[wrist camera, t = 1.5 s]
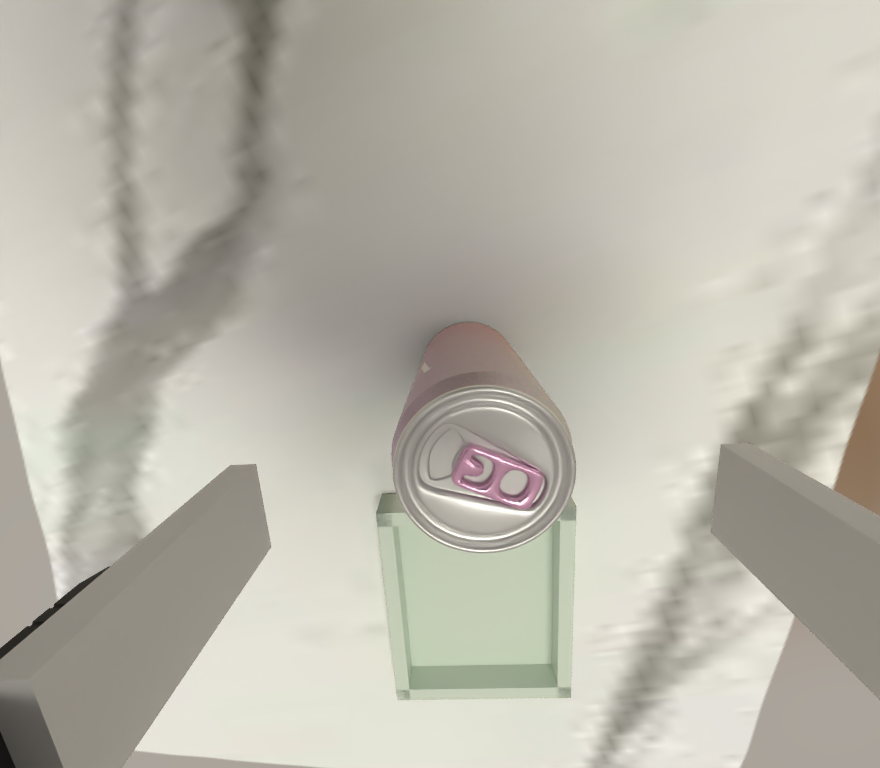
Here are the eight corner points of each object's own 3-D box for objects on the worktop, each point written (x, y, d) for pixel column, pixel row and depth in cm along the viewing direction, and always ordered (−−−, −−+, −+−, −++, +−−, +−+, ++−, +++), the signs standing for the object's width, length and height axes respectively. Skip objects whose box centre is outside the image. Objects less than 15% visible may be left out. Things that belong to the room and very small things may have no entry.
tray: (382, 493, 30) (376, 513, 27) (566, 487, 29) (576, 506, 27) (401, 669, 34) (397, 700, 31) (562, 666, 33) (570, 697, 31)
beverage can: (491, 422, 28) (532, 584, 14) (409, 391, 28) (360, 522, 13) (528, 341, 26) (619, 424, 12) (441, 306, 26) (427, 349, 12)
